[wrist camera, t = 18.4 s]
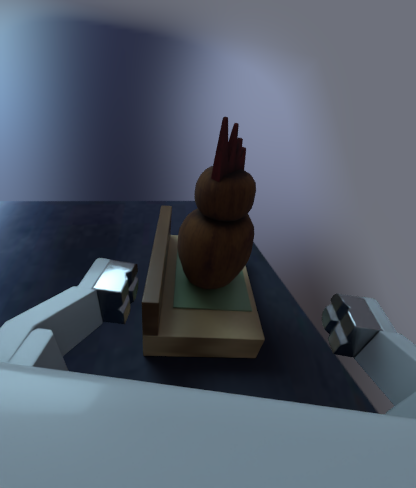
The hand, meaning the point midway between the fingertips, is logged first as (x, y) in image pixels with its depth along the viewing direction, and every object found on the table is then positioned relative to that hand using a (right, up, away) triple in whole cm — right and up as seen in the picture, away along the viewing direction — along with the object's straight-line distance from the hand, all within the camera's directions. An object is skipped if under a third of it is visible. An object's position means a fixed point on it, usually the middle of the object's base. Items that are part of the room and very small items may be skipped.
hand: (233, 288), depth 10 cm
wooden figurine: (-1, -2, +15) cm, 15 cm away
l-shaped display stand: (-2, -4, +17) cm, 18 cm away
